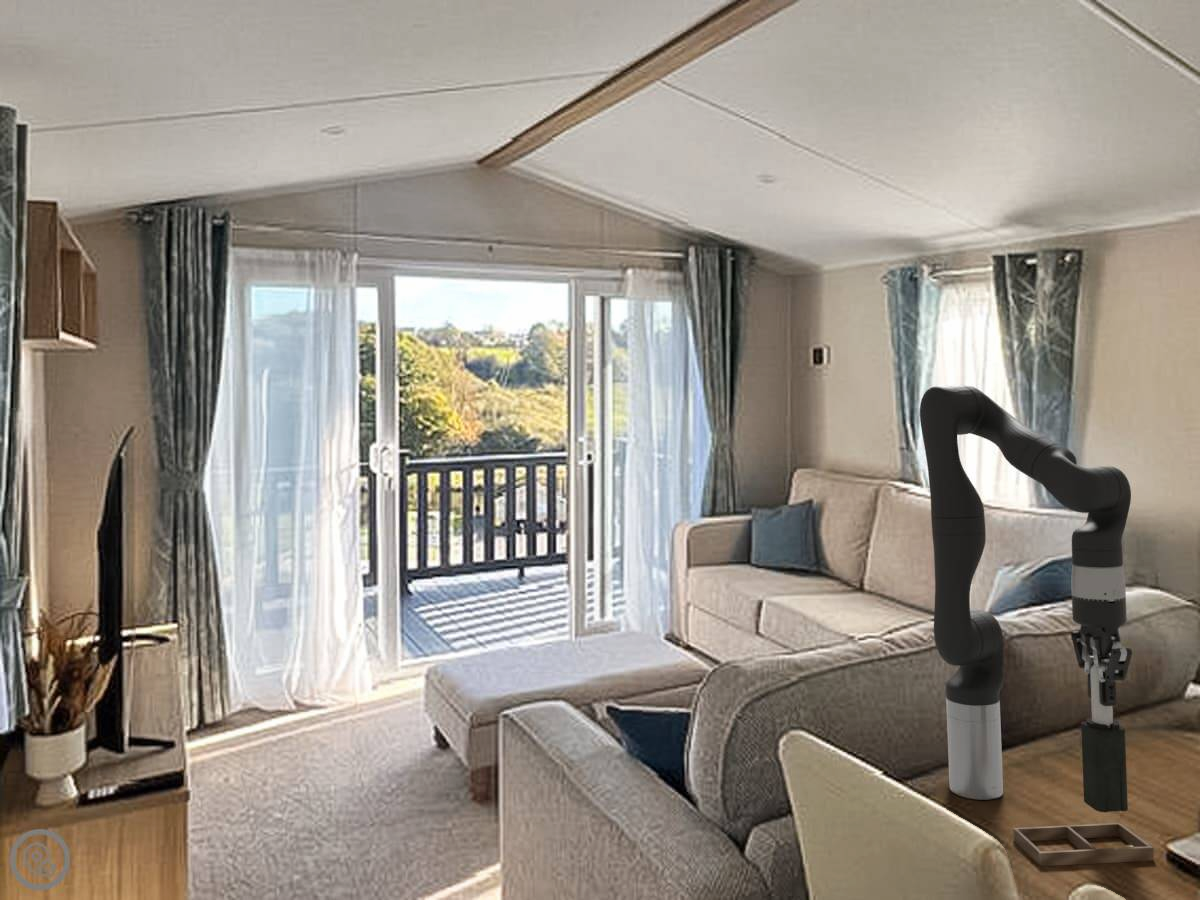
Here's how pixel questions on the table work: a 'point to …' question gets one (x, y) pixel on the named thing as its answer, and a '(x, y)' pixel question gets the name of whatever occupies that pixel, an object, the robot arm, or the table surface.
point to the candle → (1103, 755)
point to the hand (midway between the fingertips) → (1102, 701)
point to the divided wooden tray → (1083, 844)
